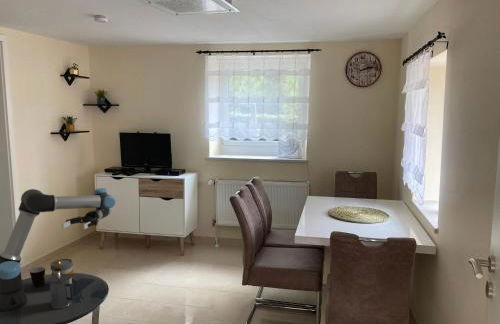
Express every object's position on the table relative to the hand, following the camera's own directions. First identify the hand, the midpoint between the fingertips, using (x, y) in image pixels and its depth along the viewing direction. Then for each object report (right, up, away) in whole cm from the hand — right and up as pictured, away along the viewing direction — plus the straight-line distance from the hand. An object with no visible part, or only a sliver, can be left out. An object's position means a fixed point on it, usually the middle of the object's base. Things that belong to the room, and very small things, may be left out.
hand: (73, 226), depth 242 cm
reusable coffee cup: (-12, -39, +14) cm, 43 cm away
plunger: (-2, -38, -10) cm, 40 cm away
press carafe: (-1, -42, -10) cm, 43 cm away
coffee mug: (-28, -38, +17) cm, 50 cm away
